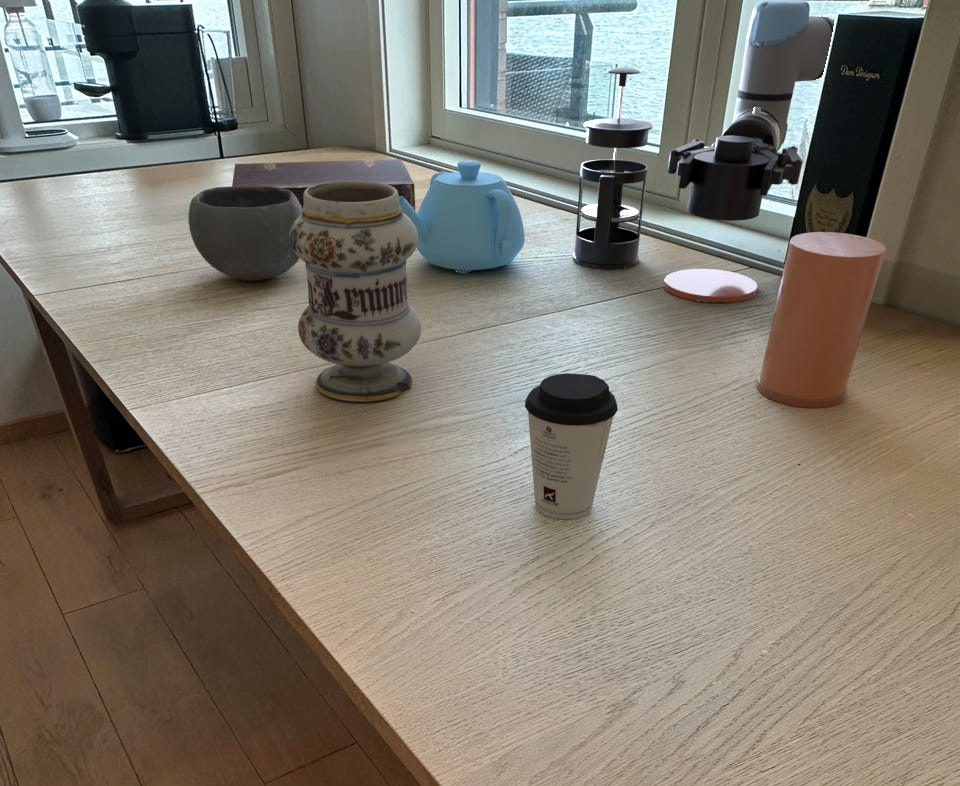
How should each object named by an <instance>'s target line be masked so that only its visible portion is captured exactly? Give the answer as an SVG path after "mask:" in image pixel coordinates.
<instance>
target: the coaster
mask: <svg viewBox="0 0 960 786" xmlns="http://www.w3.org/2000/svg"><path fill="white" fill-rule="evenodd" d="M663 287H664V290H665V291H667V292H668V293H669V292H670V294H671V293H672V294H671V295H673V294H674V295H673V296H675V295H676V297H678V296H679V297H678V298H681V297H682V298H681V299H684V298H686V299H685V300H688V299H692V300H691V301H693V300H700V301H707V302H725V303H724V304H731V303H732V302H733V303H739V302H745V301H748V300H750V299H752V298H754V297H755V296H756V295H757V293H758V292H757V291H758V288H759V286H758V283H757V282H756V281H755V280H754V279H753V278H751V277H749V276H747V275H744V274H741V273H738V272H737V273H736V272H733V271H728V270H724V269H715V268H689V269H687V268H686V269H680V270H676V271H674V272H673V271H672V272H671V273H669V274H667V275H666V276H665V277H664V281H663ZM707 302H706V303H707ZM726 302H727V303H726ZM729 302H730V303H729Z"/></svg>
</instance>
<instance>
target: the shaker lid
mask: <svg viewBox="0 0 960 786" xmlns="http://www.w3.org/2000/svg"><path fill="white" fill-rule="evenodd" d="M715 142H716V144H715V150H714V151H709V152H702V153H699V154H697V155H695V159H694V166H693V172H692V179H691V183H690V186H689V194H688V201H687V207H686V211H687V212H688V213H689V214H691V215H692V216H695V217H698V218H703V219H706V220H713V221H727V222H737V221H748V220H752V219H754V218H757V217H758V216H759V215H760V211H761V206H762V200H763V196H760V190H761V185H762V180H763V175H764V170H765V168H766V166H767V165H768V163H769V159H768V158H767V157H765V156H762V155H758V154H754V153H752V149H753V144H754V139H752V138H749V137H744V136H722V135H721V136H717V137H716V139H715Z"/></svg>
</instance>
